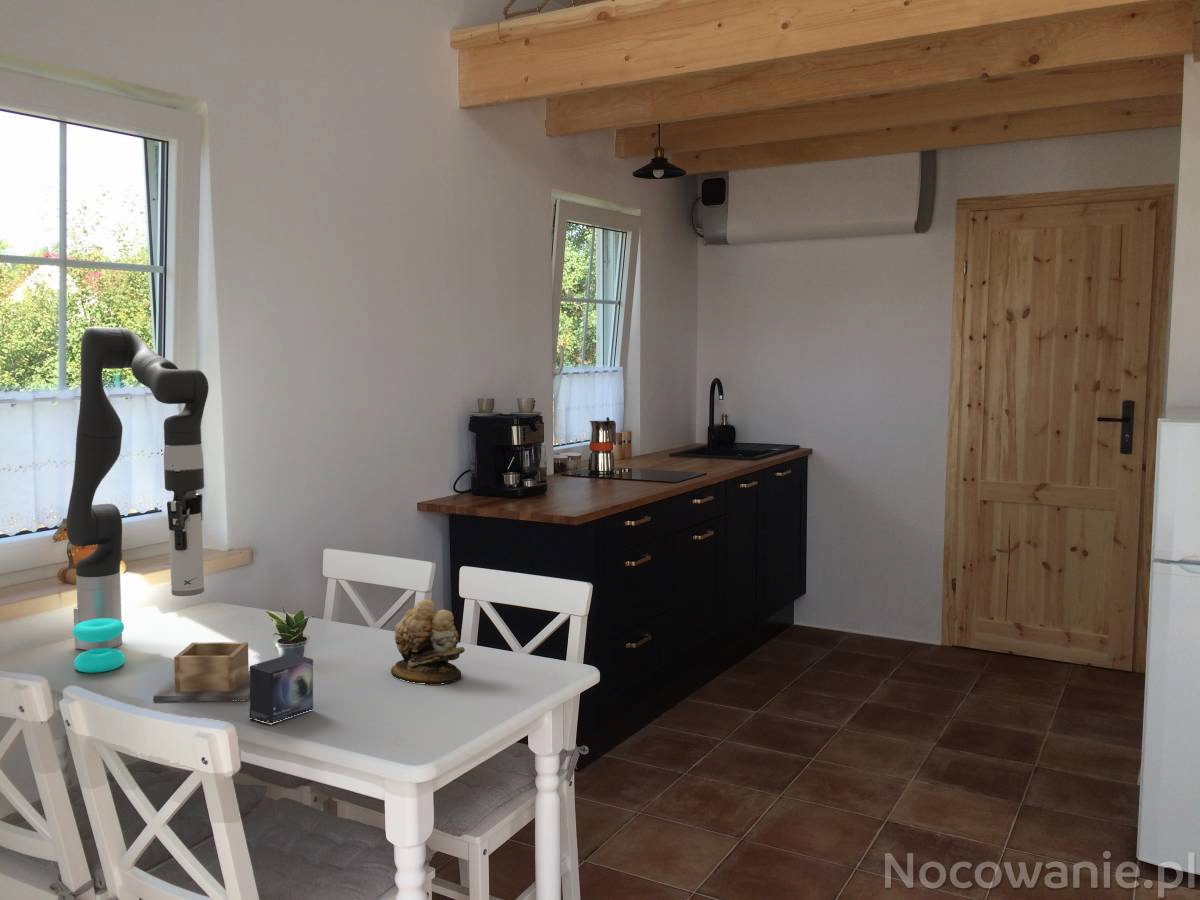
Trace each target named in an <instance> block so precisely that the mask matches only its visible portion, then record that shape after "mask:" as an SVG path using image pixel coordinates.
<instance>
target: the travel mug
mask: <svg viewBox="0 0 1200 900" xmlns="http://www.w3.org/2000/svg"><path fill="white" fill-rule="evenodd" d="M189 508H190V521H188V522H187V530H186V532H187V549H186V550H184V551H177V550H175V537H174V533H175V532H173V531H172V530H169V529H168V533H169V562H170V563H169V564H170V587H171V594H172V596H174V597H190V596H191V597H192V596H198V595H201V594H203V593H204V592H205V580H204V579H205V577H204V555H203V554H204V551H203V549H204V548H203V528H202V527H203V525H202V522H203V519H202V520H201V509H200V508H201V497H196V498H193V499H192V500H187V501H186V511H185V512H183V511H182V516H186V513H187V510H188V509H189ZM177 524H179V523H178V521H177Z"/></svg>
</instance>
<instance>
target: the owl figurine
mask: <svg viewBox="0 0 1200 900" xmlns="http://www.w3.org/2000/svg"><path fill="white" fill-rule="evenodd" d="M454 624H455V623H454V615H453V612H451V611H449V610H446V609H440V610H437V611H436V605H435V603H434V602H433V601H432V600H431V599H428V598H426V599H422V600H420V601H419V602H417V604H416V605H415V606H414V607H413V608H409V610H407V611H406V612H405V613H404V615H403V617H401V620H400V621H398V623H396V625H395V627H394V642H395V644H396V647H397V650H398V652H399V653H400V655H401V657H402V660H398V661H397V662H395V665H393V666H392V667H391V668H390V675H391V674H392V675H393V676H394V677H396V678H398V679H402V680H405V681H409V682H415V683H425V684H441V683H446V684H448V683H447V682H452V681H454V680H455V681H457V680H460V679H461V678H462V677H461V675H462V672H461V670H460V669H459V668H458V667H457V666H456V665H455V664H453V663H451V662H449V661H456V660H457V659H459V658H460V654H463V653H464V652H465V647H463V646H461V647H458V646H457V645H458V644H459V642H460V640H459V637H460V635H459V632H458V630H456V626H455V625H454ZM392 675H391V676H392ZM393 676H392V677H393ZM394 677H393V678H394ZM460 677H461V678H460ZM396 678H395V679H396ZM459 678H460V679H459ZM398 679H397V680H398ZM405 681H404V682H405ZM455 681H454V682H455ZM409 682H408V683H409ZM452 683H453V682H452Z"/></svg>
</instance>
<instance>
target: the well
mask: <svg viewBox="0 0 1200 900" xmlns="http://www.w3.org/2000/svg"><path fill="white" fill-rule="evenodd" d="M173 658H174V663H173V664H174V678H172V679H171V680H170V681H169V682H168V683H166V685H164V686H163V687H162V688H161V689H160V690H158V692H157V691H156V693H155V694H154V695H153V696H152V697H153V698H152V699H153V701H202V702H203V701H228V702H241V701H240V700H247V699H248V698H249V697H250V666H249V642H247V641H246V642H241V641H239V642H238V641H237V642H234V641H233V642H224V641H223V642H217V641H216V642H209V641H208V642H191V643H190V644H189V645H188V646H186V647H185V648H184V649H182V650H181V651H180V652H178V653H177V654H176V655H175V656H174V657H173ZM249 699H250V698H249ZM249 699H248V700H249ZM233 700H234V701H233ZM235 700H237V701H235ZM238 700H239V701H238ZM248 700H247V701H248ZM153 701H152V702H153Z"/></svg>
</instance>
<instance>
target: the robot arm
mask: <svg viewBox="0 0 1200 900" xmlns="http://www.w3.org/2000/svg"><path fill="white" fill-rule="evenodd" d="M80 343H81V345H80V399H79V411H78V418H77V419H78V421H77V427H76V429H77V430H76V437H75V438H76V440H75V456H74V457H75V458H74V470H73V480H72V487H71V492H70V498H69V503H68V508H67V515H66V521H65V522H66V523H65V524H66V525H65V527H66V528H65V529H66V536H67V539H68V541H69V543H70V544H71V545H72V546H73V547H78V548H79V547H89V546H97V547H96V549H95V550H94V551H93V552H92V553H90V554H89V555H88V556H86V557H84V558H82V559H80V560H79V561H78V562H76V564H75V575H76V576H75V579H76V580H75V581H76V606H75V607H73V628H74V627H75V626H76V625H77V624H79V623H81V622H83V621H87V620H92V619H101V618H111V619H117V620H120V621H121V622H122V596H121V595H122V593H121V591H122V590H121V562H122V555H123V554H122V553H123V551H122V550H123V549H122V546H123V519H122V514H121V512H120V509H119V508H118V507H117V506H116V505H115V504H112V503H102V504H93V501H94V498H95V494H96V491H97V489H98V488H99V486H100V484H101V482H102V481H103V479H105V477H106V476H107V475H108V473H109V472H110V471H111V469H113V467H114V465H115V463H116V462H117V460H118V459H119V457H120V454H121V450H122V441H123V430H124V429H123V423H122V421H121V418H120V417H119V415H118V413H117V411H116V409H115V408H114V405H112V403H111V402H110V400H109V398H108V397H107V394H106V392H105V389H104V385H103V369H105V370H106V369H107V370H108V369H111V370H113V369H114V370H115V369H116V370H117V369H119V370H120V369H121V370H122V369H130V370H131V373H132V376H133V377H134V378H135V380H137V382H139V383H140V384H142V385H143V386H145V387H147V388H149V390H150V391H151V393H152V395H153V396H154V399H155V400H156V401H158V402H159V403H162V404H166V405H182V404H184V408H183V409H182V411H181V412H180V413H178V414H174V415H170V416H168V417H166V418H165V419H164V421H163V438H164V439H163V440H164V442H163V443H164V449H163V450H164V451H163V471H164V472H163V473H164V488H165V490H166V491H168V492H173V499H172V500H171V501H170V500H169V501H167V503H166V508H167V520H168V521H167V522H168V531H169V530H172V531H173V532H175V533H174V537H175V550H177V551H184V550H186V549H187V532H186V530H187V522H188V521H190V508H189V509H188V510H187V513H186V516H182V511H183V512H185V511H186V501H187V500H192V499H193V498H196V497H201V508H200V509H201V520H202V521H203V494H202V493H197V491H200V490H203V489H204V488H205V474H204V473H205V469H204V453H203V449H202V447H203V446H202V432H201V431H202V420H203V416H204V415H203V414H204V411H205V406H206V402H207V399H208V396H209V381H208V378H207V377H206V375H205V374H204V373H203V372H202V371H201V370H199V369H192V368H190V369H189V368H187V369H185V368H184V369H183V368H182V369H179V367H178V366H177V365H176V364H175V363H173V362H172V361H171V360H169V359H167V358H165V357H163V356H161V355H159V354H158V353H156V351H155V352H154V350H152V348H150V347H149V345H148V344H147V343H146V342H145V341H144V340H143V339H142V338H141V337H140V336H139V335H138V334H137V333H136V332H134V331H133V330H131V329H129V328H124V327H113V326H89V327H87V328H86V329H85V330H84V331H83V333H82V338H81V342H80ZM177 521H178V523H179V524H177ZM122 623H123V622H122ZM73 637H74V649H79V650H84V651H88V650H92V649H97V648H112V647H113V648H117V647H118V645H119V646H120V644H121V643H123V632H122V633H121V634H120V635H119V636H117V637H116V638H114V639H111V640H107V641H102V642H84V641H81V640H78V639H77V638H76V637H75V636H74V635H73ZM121 645H122V644H121Z"/></svg>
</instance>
